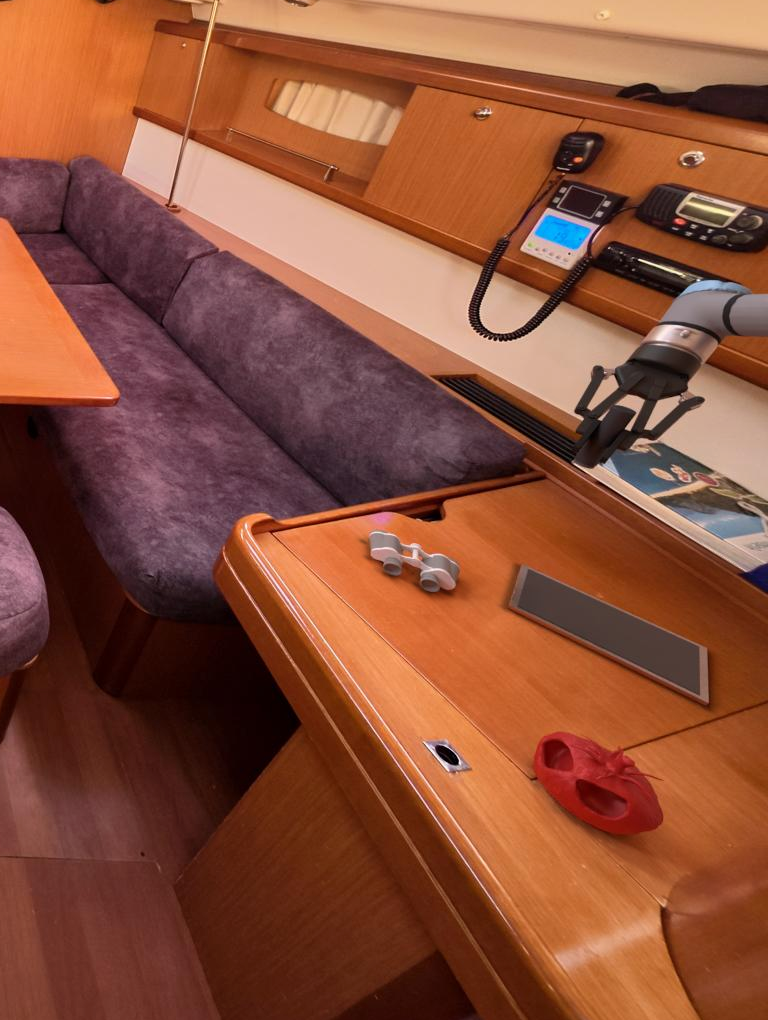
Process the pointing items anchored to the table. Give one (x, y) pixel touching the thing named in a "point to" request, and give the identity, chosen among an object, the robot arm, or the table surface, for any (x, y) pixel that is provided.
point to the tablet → (613, 633)
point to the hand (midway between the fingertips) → (589, 454)
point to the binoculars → (414, 561)
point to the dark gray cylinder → (604, 436)
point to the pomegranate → (597, 784)
